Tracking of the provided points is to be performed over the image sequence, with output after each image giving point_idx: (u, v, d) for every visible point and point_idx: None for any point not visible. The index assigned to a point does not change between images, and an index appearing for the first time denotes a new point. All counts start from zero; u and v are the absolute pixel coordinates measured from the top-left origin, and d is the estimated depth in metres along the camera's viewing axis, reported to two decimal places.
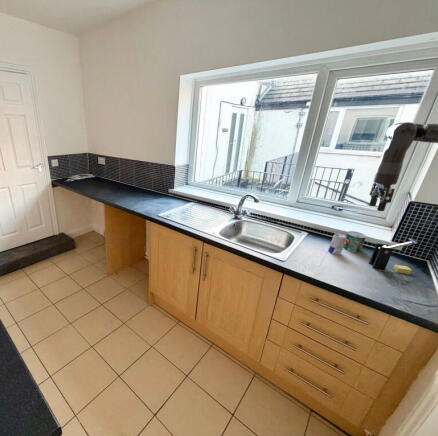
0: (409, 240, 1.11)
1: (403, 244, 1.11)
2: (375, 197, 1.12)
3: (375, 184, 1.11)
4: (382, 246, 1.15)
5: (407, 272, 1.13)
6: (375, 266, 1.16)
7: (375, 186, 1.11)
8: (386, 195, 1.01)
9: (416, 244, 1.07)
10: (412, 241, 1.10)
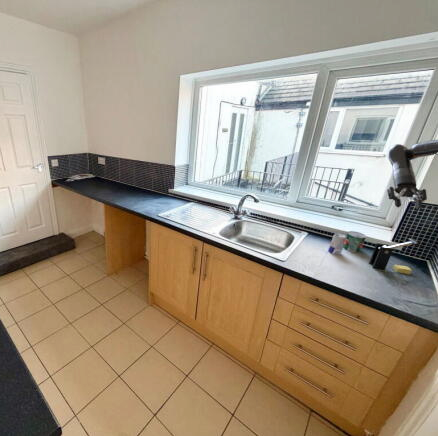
0: (409, 240, 1.11)
1: (403, 244, 1.11)
2: (417, 200, 1.16)
3: None
4: (382, 246, 1.15)
5: (407, 272, 1.13)
6: (375, 266, 1.16)
7: None
8: (388, 193, 1.22)
9: (416, 244, 1.07)
10: (412, 241, 1.10)
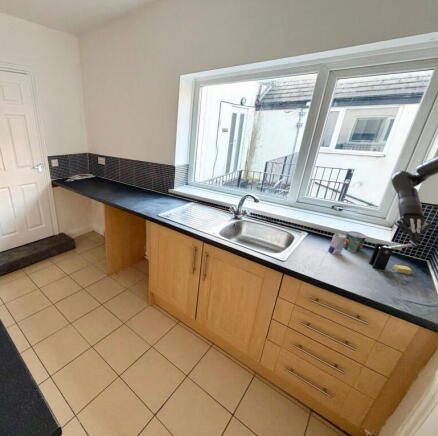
0: (410, 242, 1.11)
1: (403, 245, 1.11)
2: None
3: None
4: (382, 246, 1.15)
5: (407, 272, 1.13)
6: (375, 266, 1.16)
7: None
8: (399, 227, 1.14)
9: (417, 246, 1.08)
10: (413, 243, 1.10)
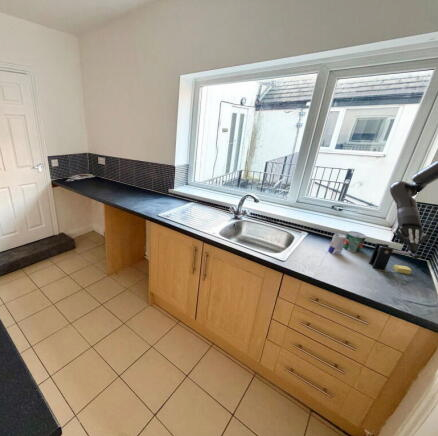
0: (409, 251, 1.13)
1: (403, 252, 1.12)
2: None
3: None
4: (384, 246, 1.15)
5: (407, 272, 1.13)
6: (375, 266, 1.16)
7: None
8: (398, 237, 1.15)
9: (415, 256, 1.09)
10: (412, 253, 1.11)
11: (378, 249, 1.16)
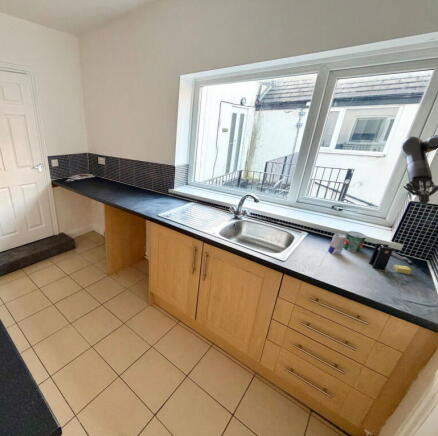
0: (404, 257, 1.14)
1: (400, 256, 1.13)
2: None
3: None
4: None
5: (407, 272, 1.13)
6: (375, 266, 1.16)
7: None
8: (408, 190, 1.16)
9: (410, 263, 1.10)
10: (408, 259, 1.12)
11: (378, 248, 1.16)
